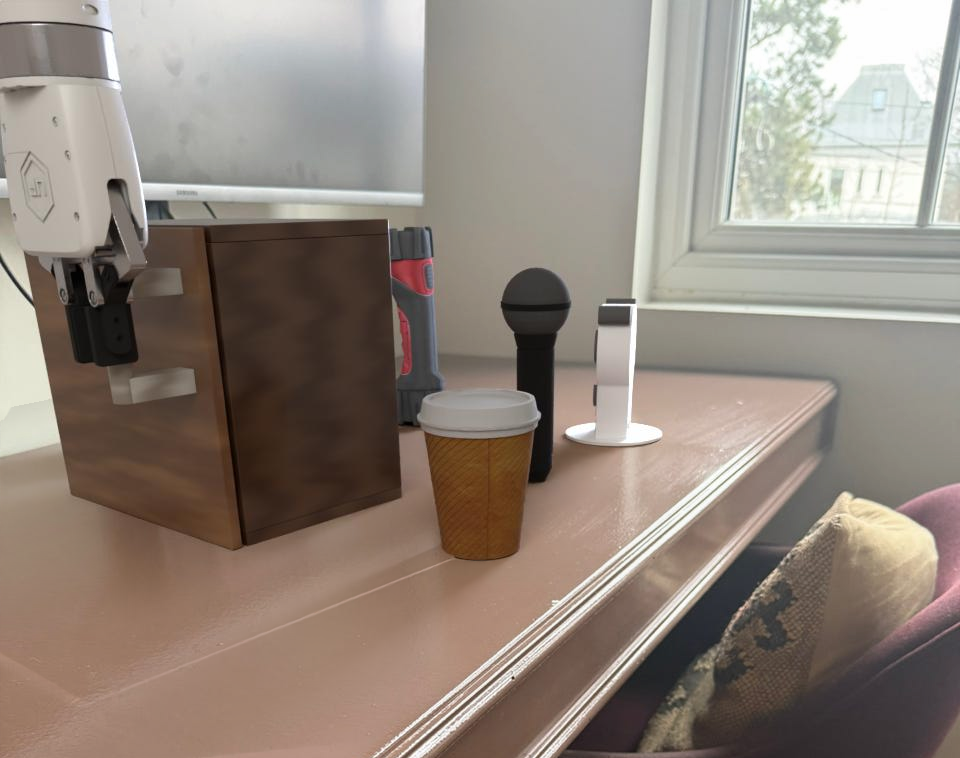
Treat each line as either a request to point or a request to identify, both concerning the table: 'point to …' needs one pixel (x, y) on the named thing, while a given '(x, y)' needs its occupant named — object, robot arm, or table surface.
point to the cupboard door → (148, 398)
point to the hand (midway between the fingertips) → (107, 360)
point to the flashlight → (415, 318)
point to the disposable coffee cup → (479, 467)
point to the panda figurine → (614, 381)
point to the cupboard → (304, 366)
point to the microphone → (537, 349)
